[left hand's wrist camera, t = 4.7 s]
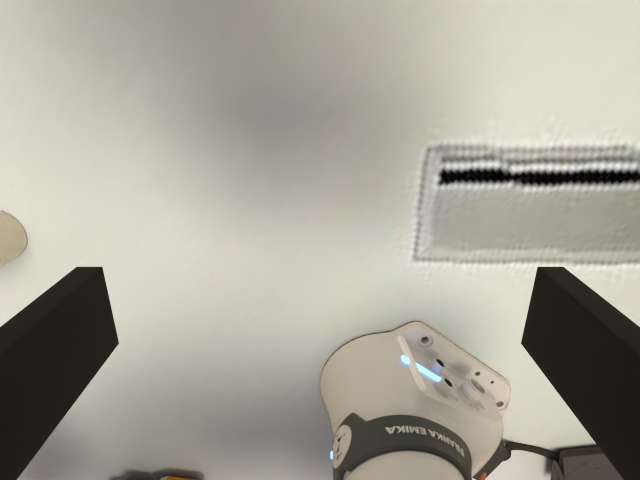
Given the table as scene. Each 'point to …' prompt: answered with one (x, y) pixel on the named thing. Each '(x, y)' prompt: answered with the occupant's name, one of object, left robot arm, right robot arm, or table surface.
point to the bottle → (11, 238)
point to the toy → (584, 465)
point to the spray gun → (174, 478)
